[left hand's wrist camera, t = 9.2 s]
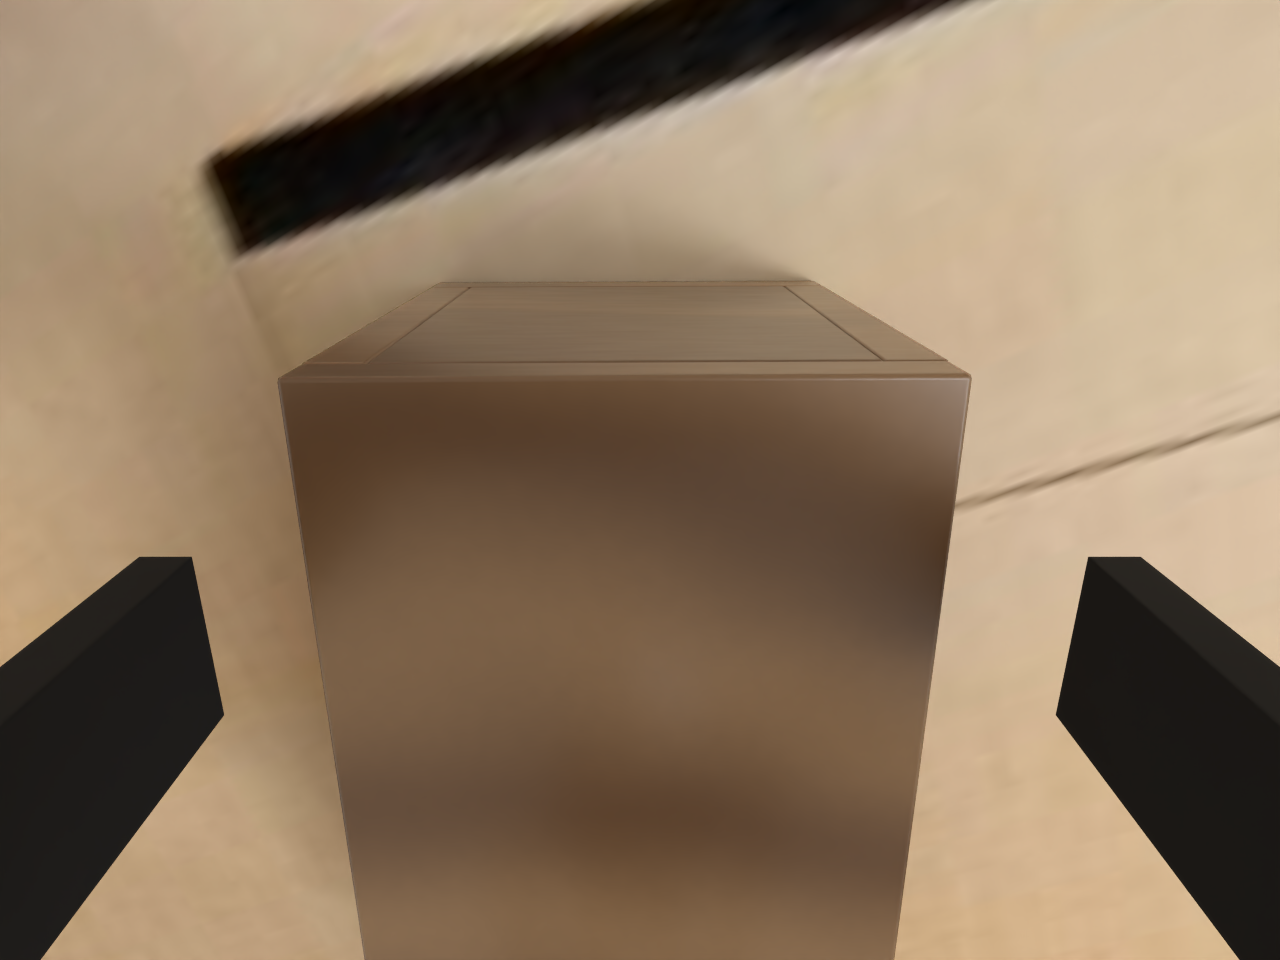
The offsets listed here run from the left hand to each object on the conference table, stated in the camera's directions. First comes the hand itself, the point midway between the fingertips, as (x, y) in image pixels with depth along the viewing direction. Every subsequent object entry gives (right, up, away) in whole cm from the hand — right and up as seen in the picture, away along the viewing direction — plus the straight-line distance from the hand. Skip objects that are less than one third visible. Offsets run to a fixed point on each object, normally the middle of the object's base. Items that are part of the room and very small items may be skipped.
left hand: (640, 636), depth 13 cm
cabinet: (0, 0, +13) cm, 13 cm away
